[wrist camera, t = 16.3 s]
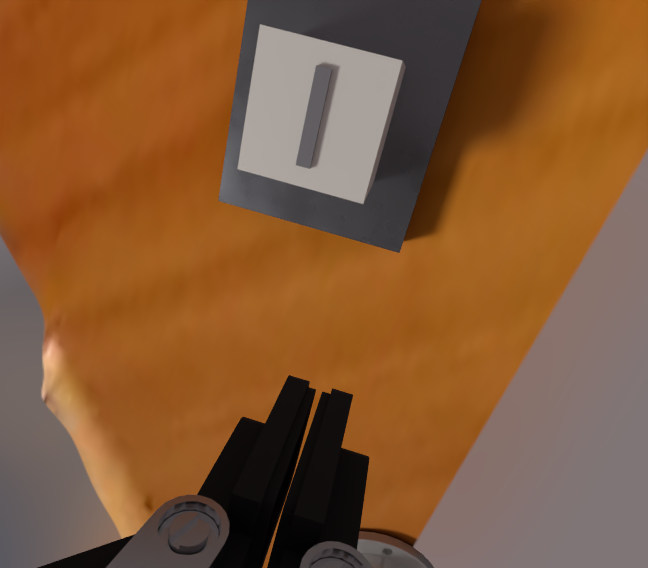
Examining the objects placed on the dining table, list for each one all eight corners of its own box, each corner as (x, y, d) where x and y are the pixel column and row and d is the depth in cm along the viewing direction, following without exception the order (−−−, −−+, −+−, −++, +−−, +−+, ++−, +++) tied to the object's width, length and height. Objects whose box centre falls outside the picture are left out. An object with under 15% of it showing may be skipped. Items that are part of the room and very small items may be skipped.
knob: (373, 182, 28) (362, 205, 22) (271, 153, 29) (235, 169, 23) (405, 66, 26) (402, 60, 20) (292, 37, 26) (258, 23, 20)
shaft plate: (400, 243, 31) (396, 275, 26) (229, 194, 32) (191, 215, 27) (477, 5, 26) (493, -17, 20) (267, -46, 26) (228, -81, 21)
